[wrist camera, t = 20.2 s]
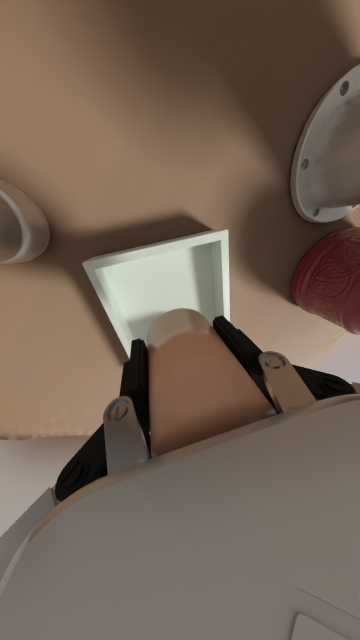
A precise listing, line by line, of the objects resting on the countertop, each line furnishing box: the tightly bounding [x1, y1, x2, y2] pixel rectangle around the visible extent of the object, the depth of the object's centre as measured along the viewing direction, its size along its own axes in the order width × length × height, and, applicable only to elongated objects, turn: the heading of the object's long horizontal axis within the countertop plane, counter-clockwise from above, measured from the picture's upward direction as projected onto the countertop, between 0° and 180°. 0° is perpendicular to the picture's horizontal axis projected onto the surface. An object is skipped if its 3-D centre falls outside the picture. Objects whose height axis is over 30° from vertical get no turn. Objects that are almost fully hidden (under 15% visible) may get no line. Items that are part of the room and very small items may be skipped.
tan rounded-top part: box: [147, 308, 277, 459], centre depth 9 cm, size 5×5×7 cm
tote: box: [82, 229, 230, 359], centre depth 22 cm, size 15×20×4 cm
